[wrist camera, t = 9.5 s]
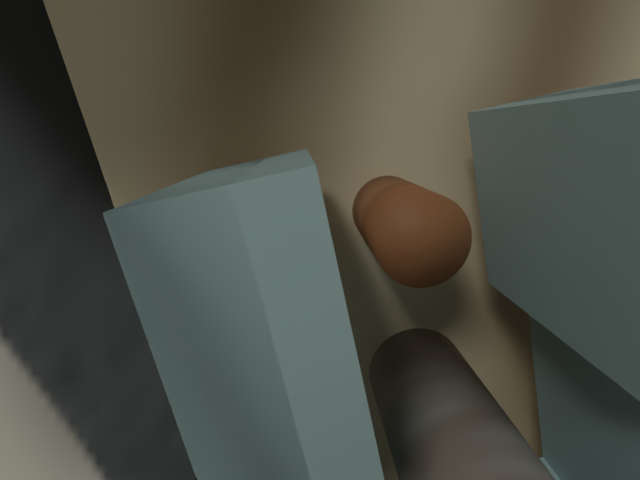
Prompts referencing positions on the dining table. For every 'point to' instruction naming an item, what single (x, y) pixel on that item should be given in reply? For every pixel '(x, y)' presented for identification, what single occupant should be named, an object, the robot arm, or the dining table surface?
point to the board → (362, 171)
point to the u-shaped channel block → (331, 311)
